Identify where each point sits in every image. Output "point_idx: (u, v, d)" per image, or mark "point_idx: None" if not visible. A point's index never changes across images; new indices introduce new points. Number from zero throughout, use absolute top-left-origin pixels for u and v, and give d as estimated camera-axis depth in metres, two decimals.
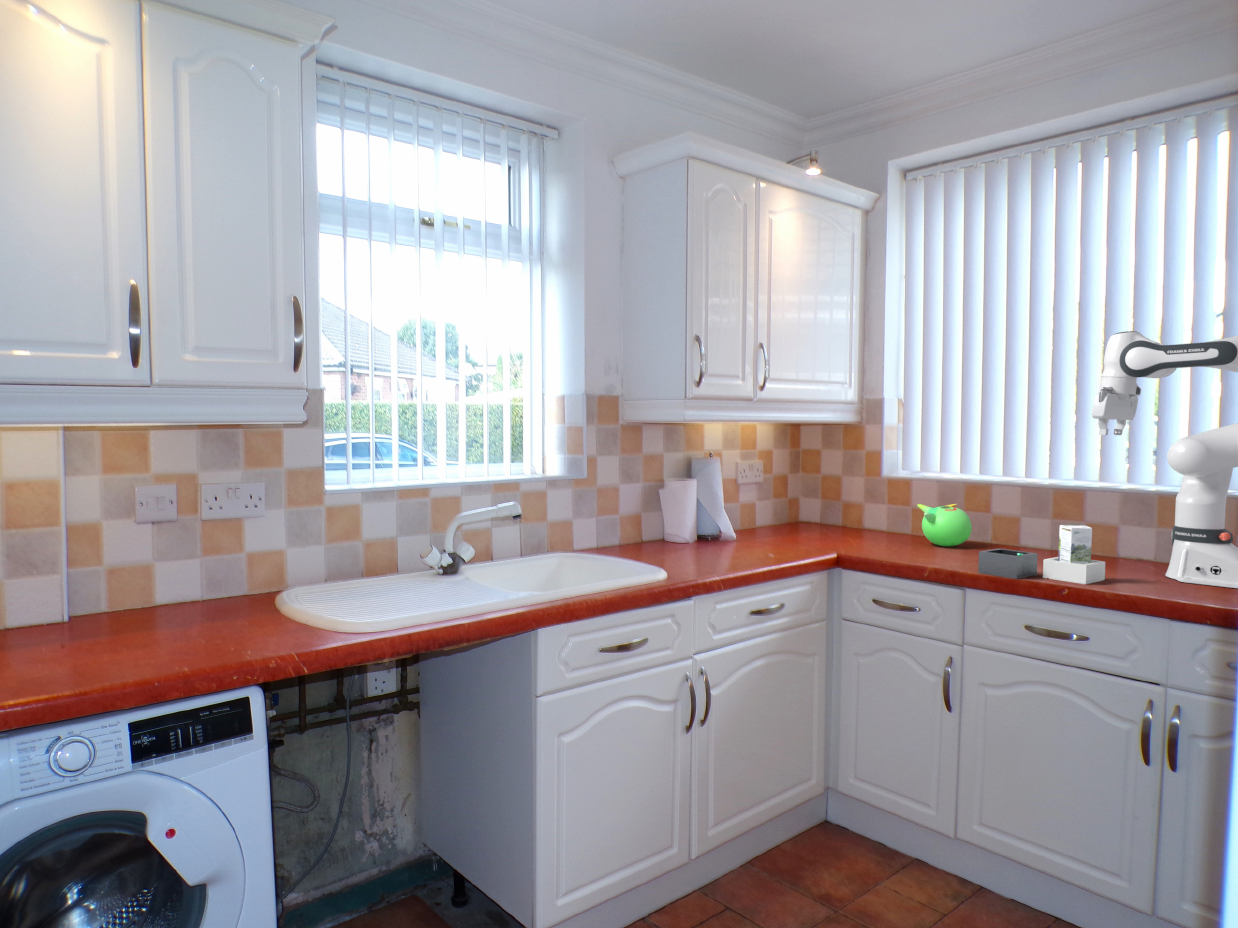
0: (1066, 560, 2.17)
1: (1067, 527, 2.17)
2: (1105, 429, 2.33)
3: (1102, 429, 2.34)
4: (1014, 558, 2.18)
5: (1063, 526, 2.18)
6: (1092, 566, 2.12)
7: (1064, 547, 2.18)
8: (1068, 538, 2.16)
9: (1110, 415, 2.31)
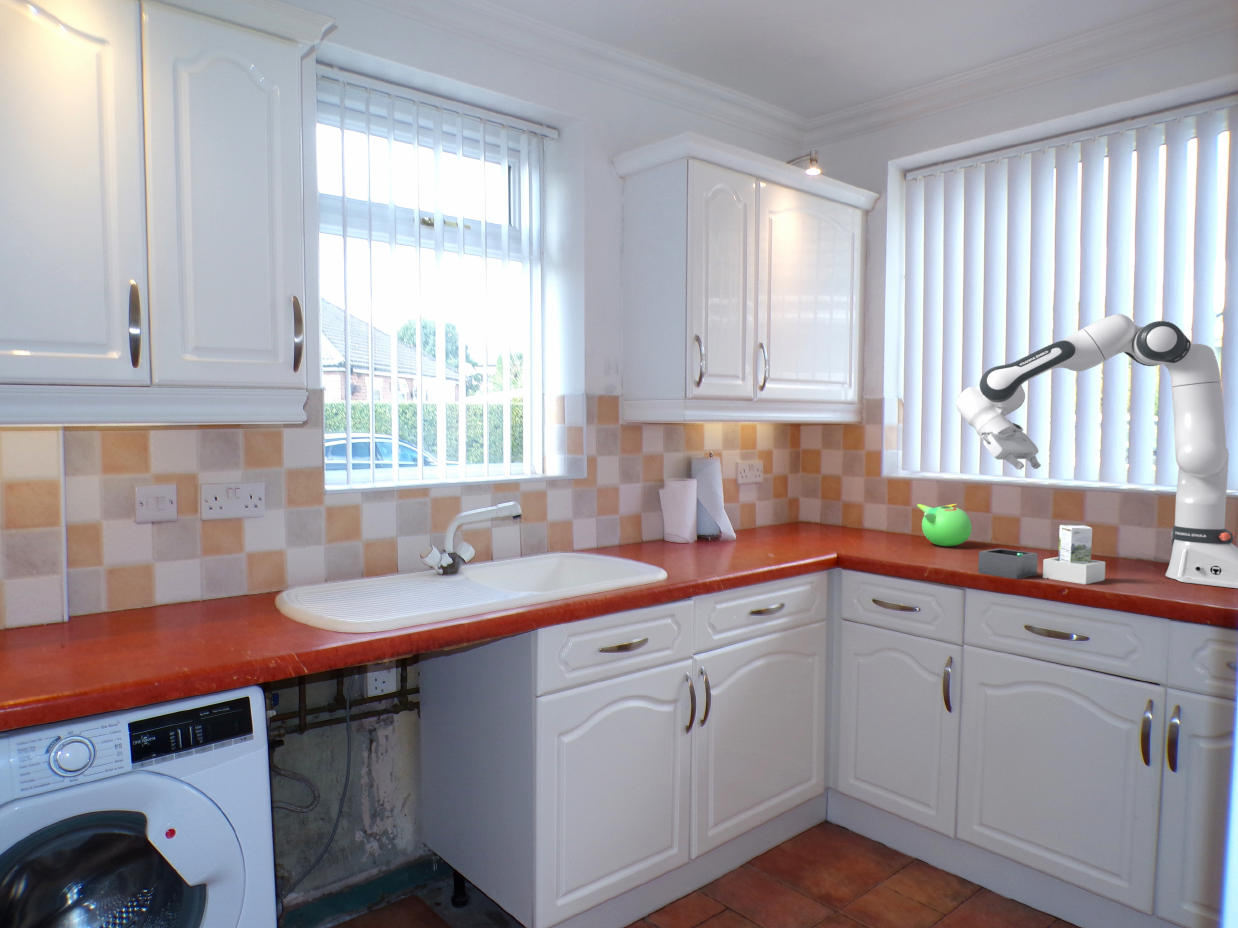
0: (1066, 560, 2.17)
1: (1067, 527, 2.17)
2: (1017, 461, 2.28)
3: (1015, 464, 2.28)
4: (1014, 558, 2.18)
5: (1063, 526, 2.18)
6: (1092, 566, 2.12)
7: (1064, 547, 2.18)
8: (1068, 538, 2.16)
9: (1008, 448, 2.29)
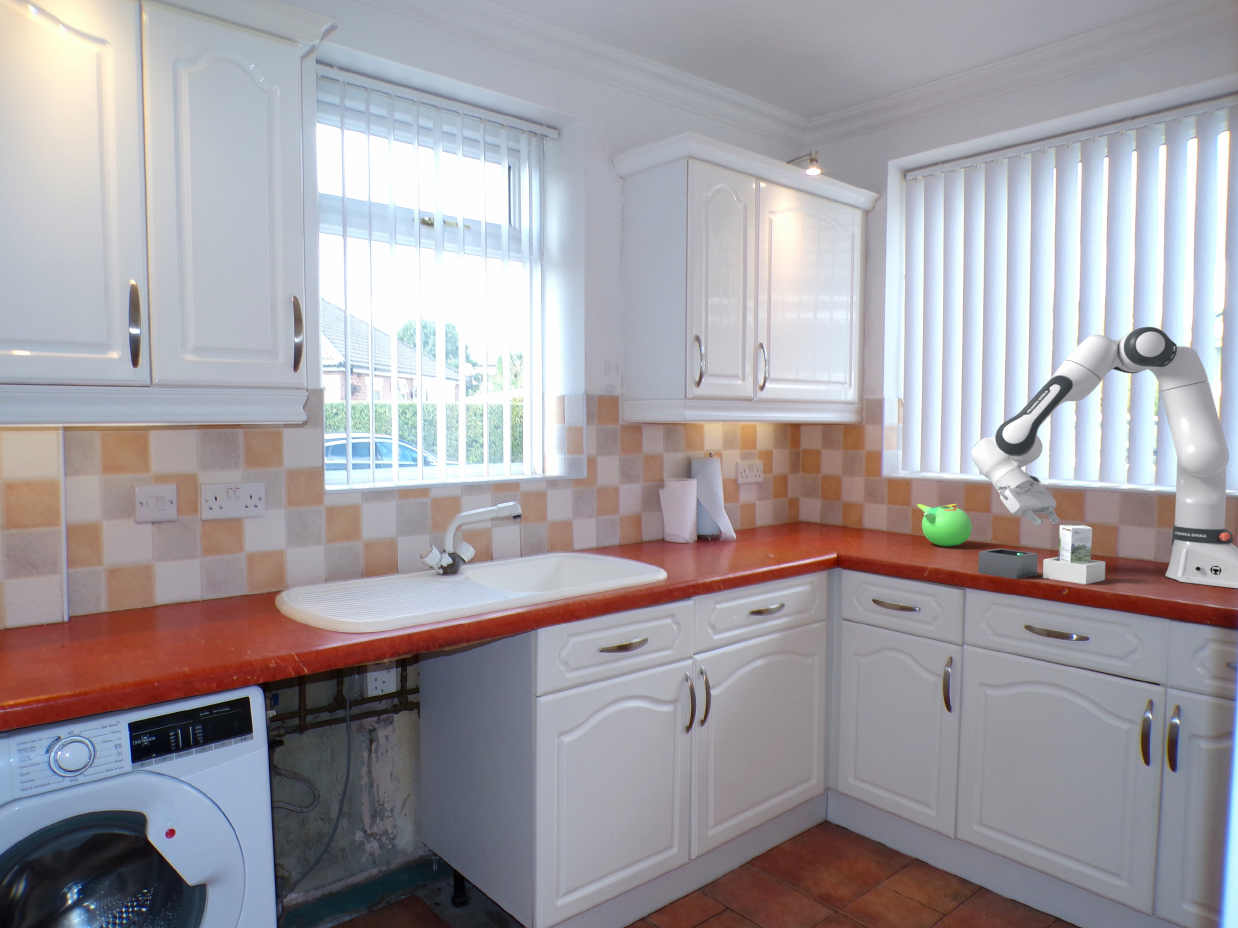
0: (1066, 560, 2.17)
1: (1067, 527, 2.17)
2: (1036, 518, 2.21)
3: (1034, 520, 2.21)
4: (1014, 558, 2.18)
5: (1063, 526, 2.18)
6: (1092, 566, 2.12)
7: (1064, 547, 2.18)
8: (1068, 538, 2.16)
9: (1026, 503, 2.22)
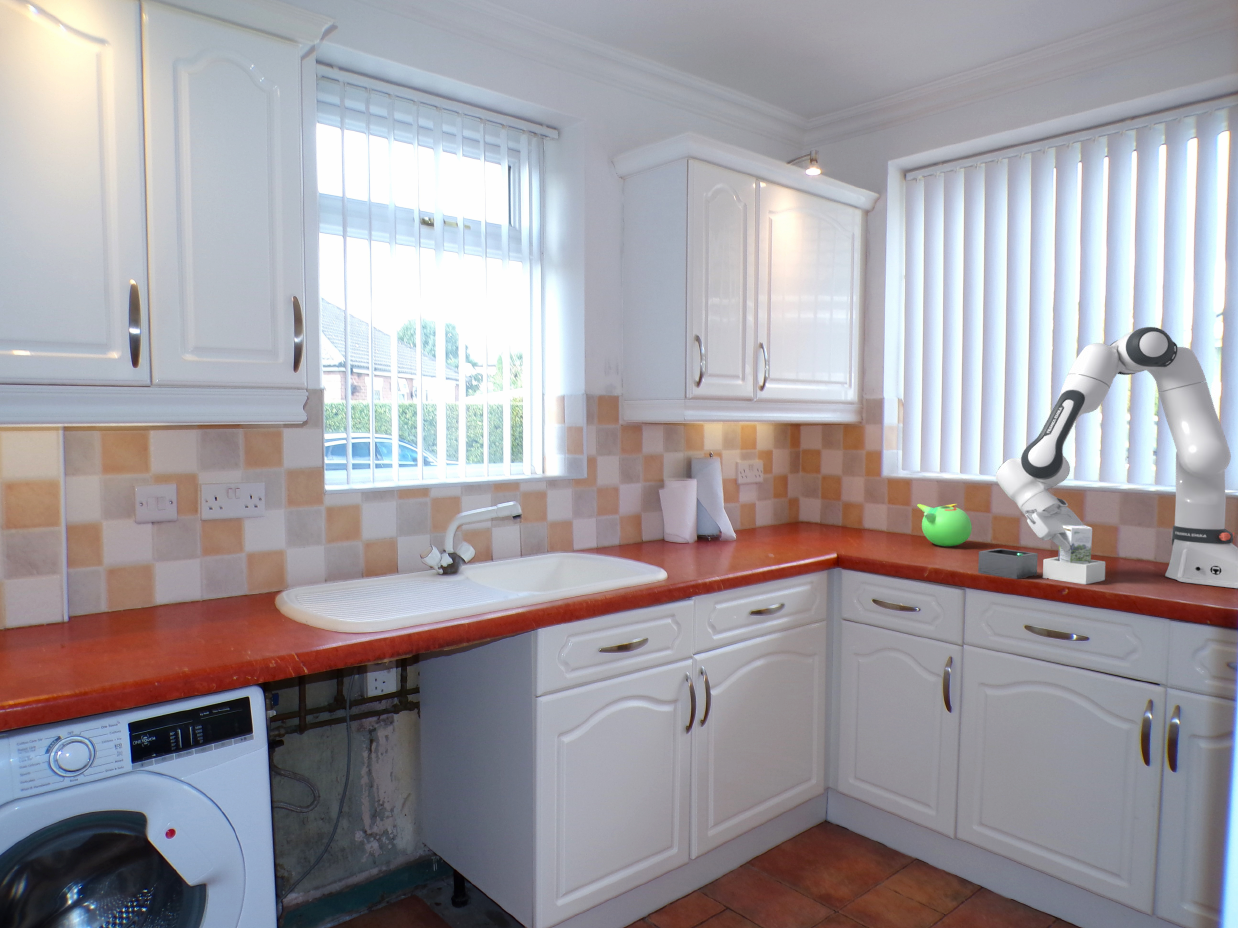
0: (1066, 560, 2.17)
1: (1067, 527, 2.17)
2: (1065, 543, 2.15)
3: (1063, 545, 2.15)
4: (1014, 558, 2.18)
5: (1063, 526, 2.18)
6: (1092, 566, 2.12)
7: None
8: (1068, 538, 2.16)
9: (1054, 528, 2.16)
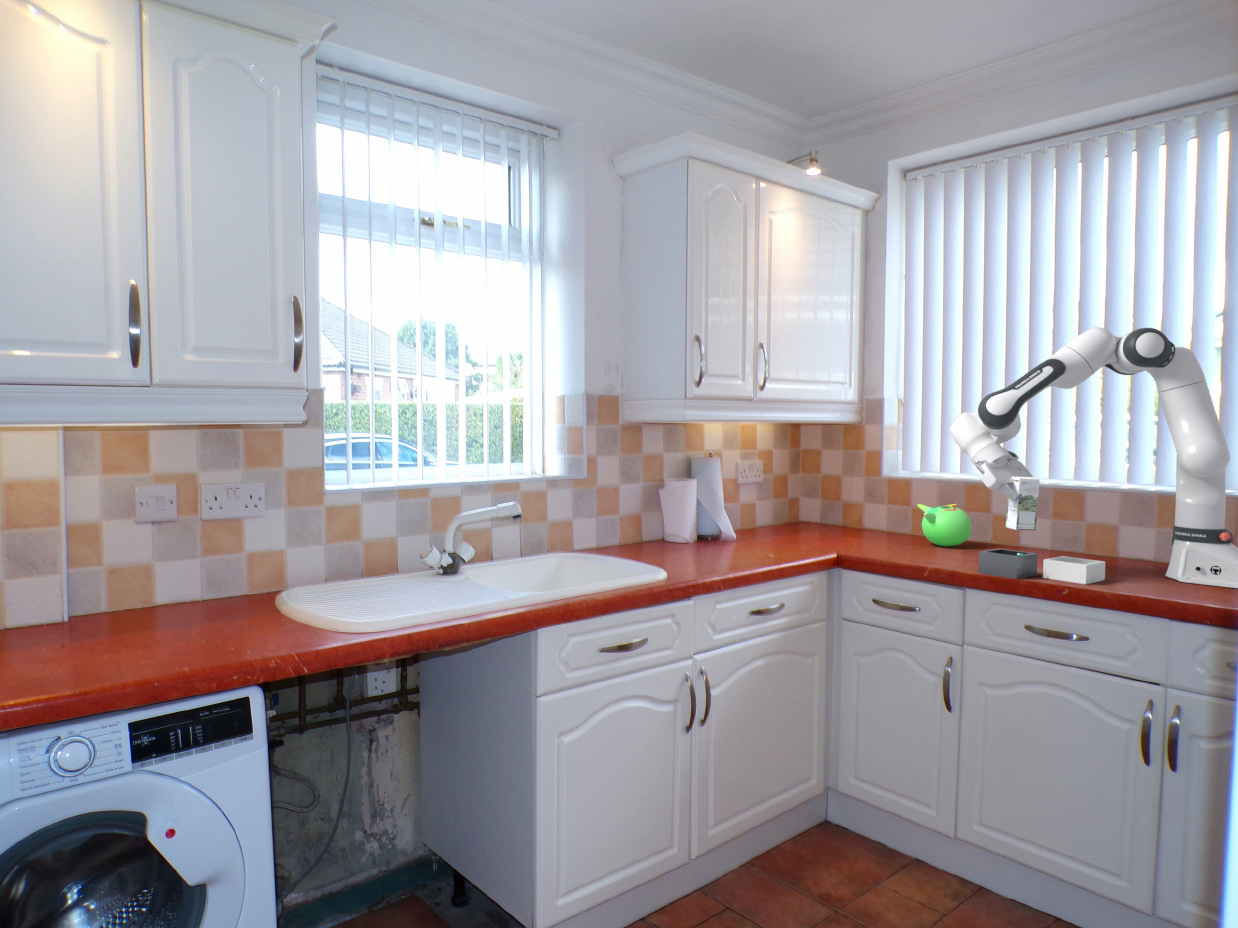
0: (1014, 510, 2.22)
1: (1015, 478, 2.21)
2: (1012, 492, 2.20)
3: (1010, 494, 2.20)
4: (1014, 558, 2.18)
5: (1012, 477, 2.23)
6: (1092, 566, 2.12)
7: None
8: (1016, 489, 2.21)
9: (1003, 478, 2.20)
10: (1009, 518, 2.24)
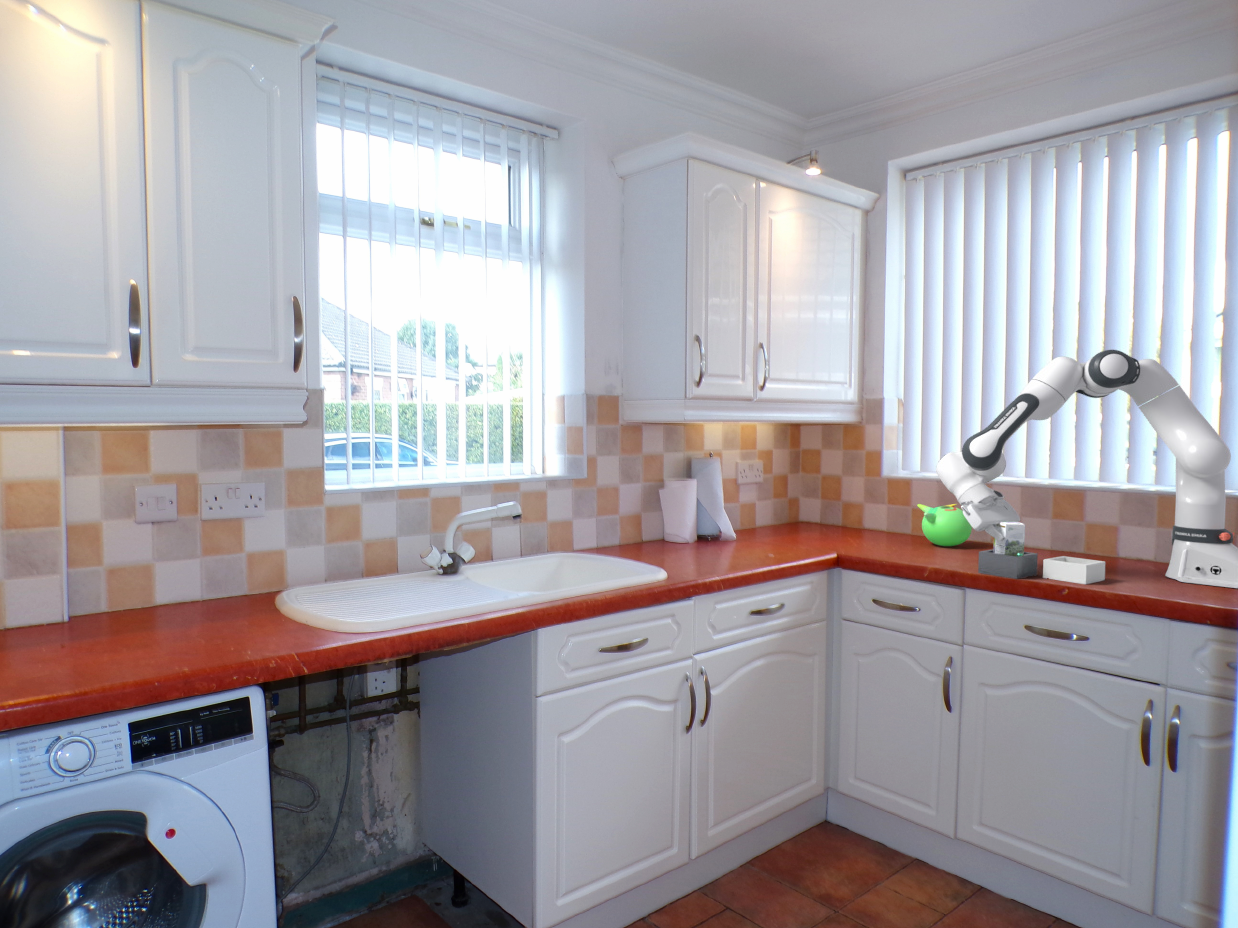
0: None
1: (1001, 524, 2.23)
2: (998, 533, 2.21)
3: (996, 535, 2.22)
4: (1014, 558, 2.18)
5: None
6: (1092, 566, 2.12)
7: (999, 543, 2.24)
8: (1003, 534, 2.22)
9: (988, 519, 2.22)
10: None
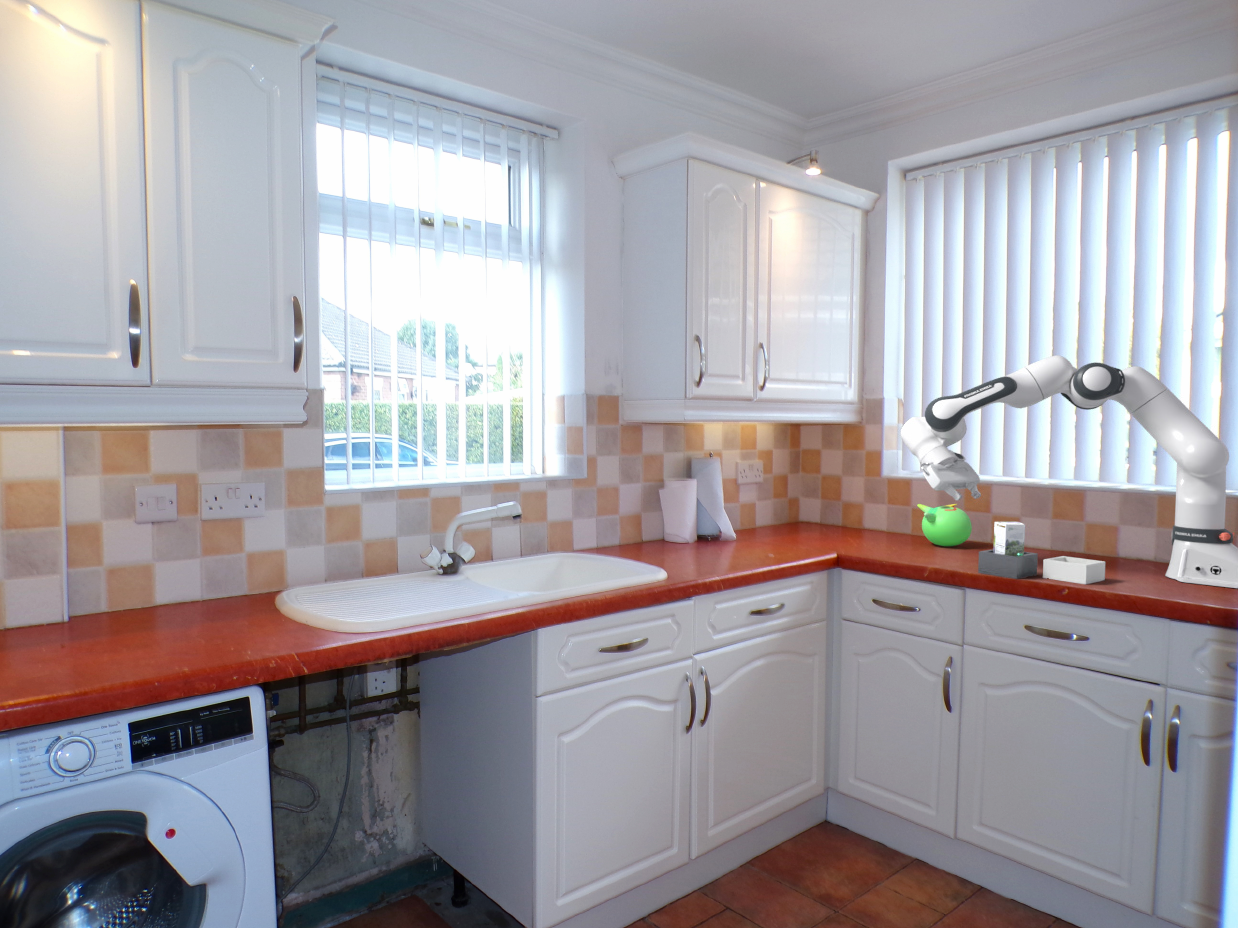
0: None
1: (1002, 524, 2.23)
2: (955, 492, 2.31)
3: (954, 495, 2.32)
4: (1014, 558, 2.18)
5: (998, 523, 2.25)
6: (1092, 566, 2.12)
7: (999, 543, 2.24)
8: (1003, 534, 2.22)
9: (947, 479, 2.32)
10: None
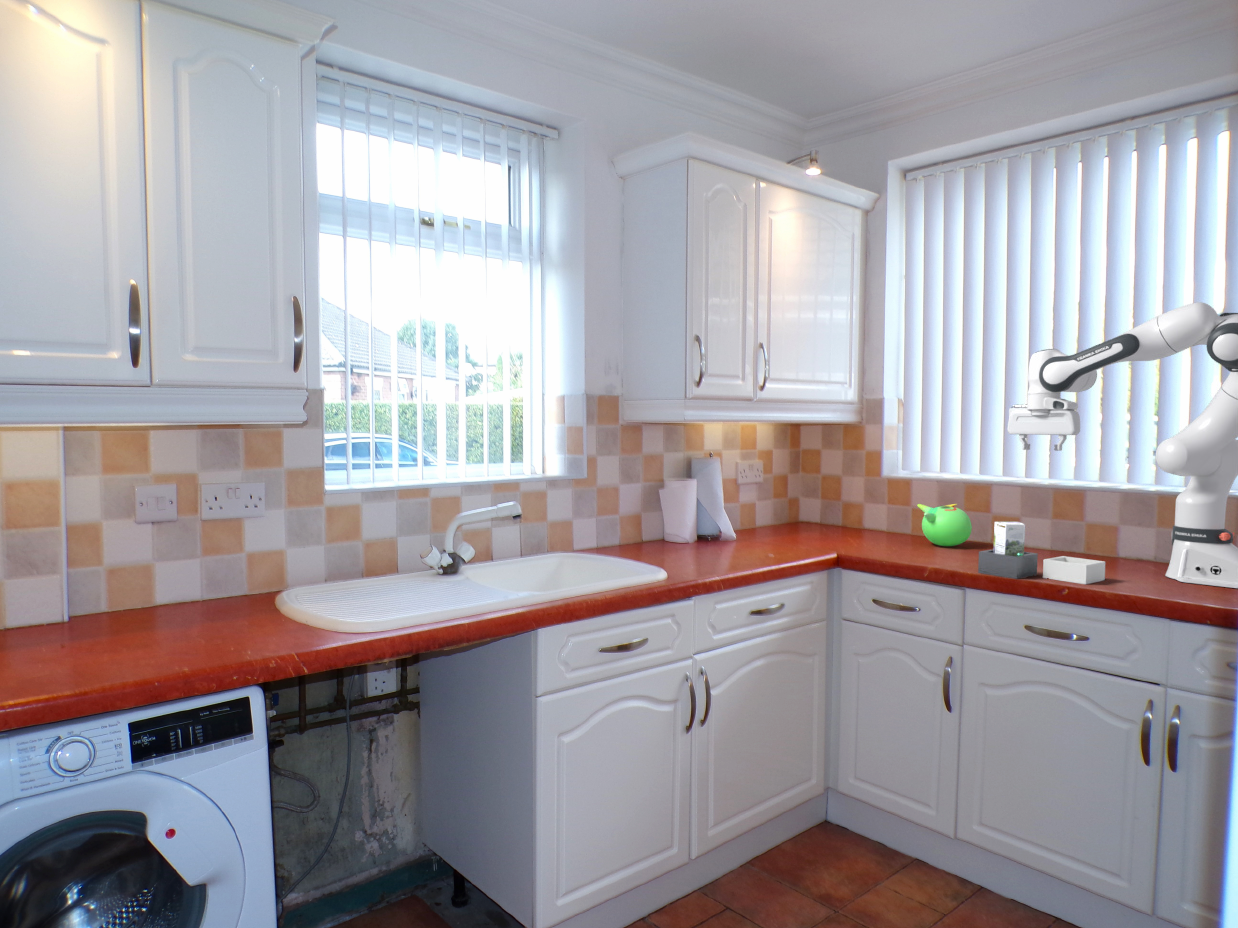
0: None
1: (1002, 524, 2.23)
2: None
3: None
4: (1014, 558, 2.18)
5: (998, 523, 2.25)
6: (1092, 566, 2.12)
7: (999, 543, 2.24)
8: (1003, 534, 2.22)
9: (1018, 430, 2.47)
10: None
